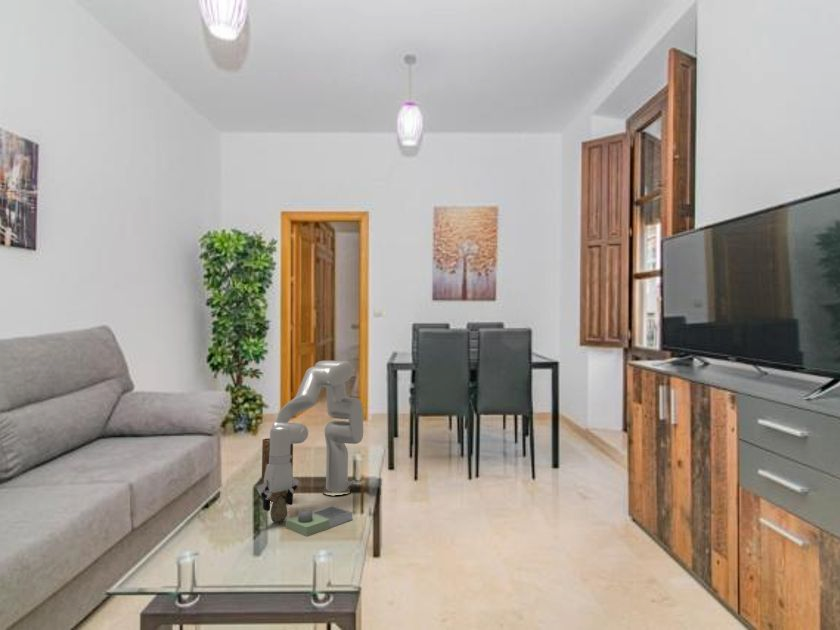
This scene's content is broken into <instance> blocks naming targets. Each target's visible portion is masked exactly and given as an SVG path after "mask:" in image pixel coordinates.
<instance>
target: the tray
mask: <svg viewBox="0 0 840 630" xmlns="http://www.w3.org/2000/svg"><path fill="white" fill-rule="evenodd" d="M312 514H314V515H316V516H319V517H322V518H325V519H328V520H329V529H330V528H333V527H336V526H339V525H341V524H345V523H347V522H351V521H352V520H353V512H352V511H351V510H348V509H344V508H340V507H338V506H335V505H329V506H327V507H323V508H321V509H320V508H319V509H318V510H314V511H313V510H312Z"/></svg>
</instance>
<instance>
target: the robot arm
mask: <svg viewBox="0 0 840 630" xmlns="http://www.w3.org/2000/svg"><path fill="white" fill-rule="evenodd" d="M353 373H354V367H353V365H352V363H351V362H350V361H348V360H319V361H317V362H315V364H314V366H312V367H311V366H310V367H309V368H308V369H307V370H306V371H305V373H304V375H303V378H302V381H301V382H300V386H299V388H298V390H297V393H296V395H295V397H294V398H292V399H291V400H289V401H288V402H287V403H286V404H285V405H284V406H282V408H281V409H279V410H278V413H277V414H276V417H275V419H274V421H273V423H272V427H271V428H270V432H269V438H270V452H269V464H267V466H266V470H265V476H264V483H263V484H262V483H261V484H260V486H258V487H257V492H258V495H259V496H260V498H261V497H262V498H263V500H262V501H263V503H262V508H263V510H264V511H267V512H269V511H271V503H270V499H269V498H270V496H271V495H272V493H277V492H281V491H286V490H287V492H288V493H286V505H289V506H292V505H293V501H294V498H293V497H294V494H295V492H296V490H297V488H298V485H299V483H300V480H299V479H298V478H295V477H294V475H293V474H294V473H293V472H294V471H293V472H292V465H291V462H290V459H291V458H292V455H290V446H291V444H293V445H294V444H295V445H296V444H302V443H304V442H305V441H306V440H307V438H308V436H309V429H308V427H307V426H306V425H305V424H303V423H296V422H289V421H291V419H292V418H293V417H294V416H296V415H298V414H299V413H301V412H305V411H307V410H309V409H311V408H313V407H315V405H316V404H317V401H318V398H319V397H320V394H321V391H322V388H326V389H325V390H326V406H327V407H326V408H327V410H326V411H327V415H328V416H329V417H330V418H331V419H340V420H331V421H329V422H327V424H326V425H325V427H324V437H325V443H326V459H325V460H326V462H325V463H326V471H325V472H326V473H325V474H326V476H325V488H326V489H327V490H328V491H332V492H341V491H345V490H346V489H347V488H348V487H349V486H350V485H351V484H353V483H355V482H356V480H349V479H348V477H349V476H348V475H349V474H348V473H349V472H348V471H349V452H348V447H347V446H346V444H352V445H356V444H359V443H361V441H362V440H363V437H364V412H363V411H364V410H363V404H362V402H361V400H360V399H359V398H357V397H347V392H346V391H347V390H346V384H345V383H346V382H348V381H349V380H350V379H351V378H352V376H353ZM341 419H342V420H341ZM345 420H348V421H345ZM355 484H356V483H355ZM351 486H352V485H351ZM351 486H350V487H351ZM350 487H349V488H350ZM263 489H264V491H265V492H263Z"/></svg>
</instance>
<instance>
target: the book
mask: <svg viewBox="0 0 840 630" xmlns="http://www.w3.org/2000/svg"><path fill="white" fill-rule="evenodd" d="M261 447H262V450H261V454H262V456H261V485H262V484H263V483H264V476H265V470H266V466H267V464H269V452H270V437H268V438H264V439H262V446H261ZM290 455H292V458H291V459H290V462H291V465H292V472H294V470H293V469H294V467H293V465H294V444H291V446H290ZM263 492H265V491H264V489H263ZM286 493H288V492H287V490H286V491H281V492H277V493H272V495H271V496H270V498H269V499H270V501H271V502H273V501H274V500H275V498H276V497H277V496H282V497H283V498H284V500H285V503H286Z"/></svg>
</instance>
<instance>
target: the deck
mask: <svg viewBox="0 0 840 630" xmlns="http://www.w3.org/2000/svg"><path fill="white" fill-rule="evenodd" d="M312 512H313V510H311V509H301V510H299V511H298V512H297V515H296V516H292V517H289V518H286V519H285V529H287V530H289V531H292V532H295V533H298V534H299V535H303V536H304V537H308V536H311V535H314V534H317V533H319V532H320V533H321V532H323V531H326V530H328V529H330V528H329V520H328V519H325V518H322V517H319V516H316V515H314V514H312Z"/></svg>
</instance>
